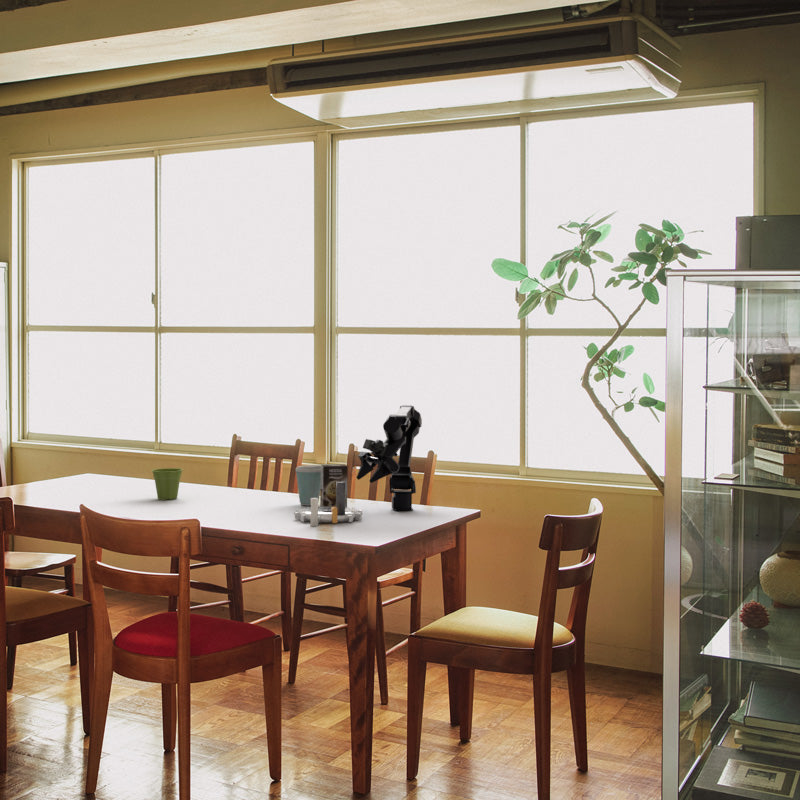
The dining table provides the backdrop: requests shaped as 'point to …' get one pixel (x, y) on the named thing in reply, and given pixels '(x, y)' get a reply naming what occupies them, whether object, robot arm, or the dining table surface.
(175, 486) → the plant pot
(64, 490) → the dining table surface
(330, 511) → the sprocket
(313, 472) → the disposable coffee cup
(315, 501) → the pointer post
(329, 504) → the coffee box
